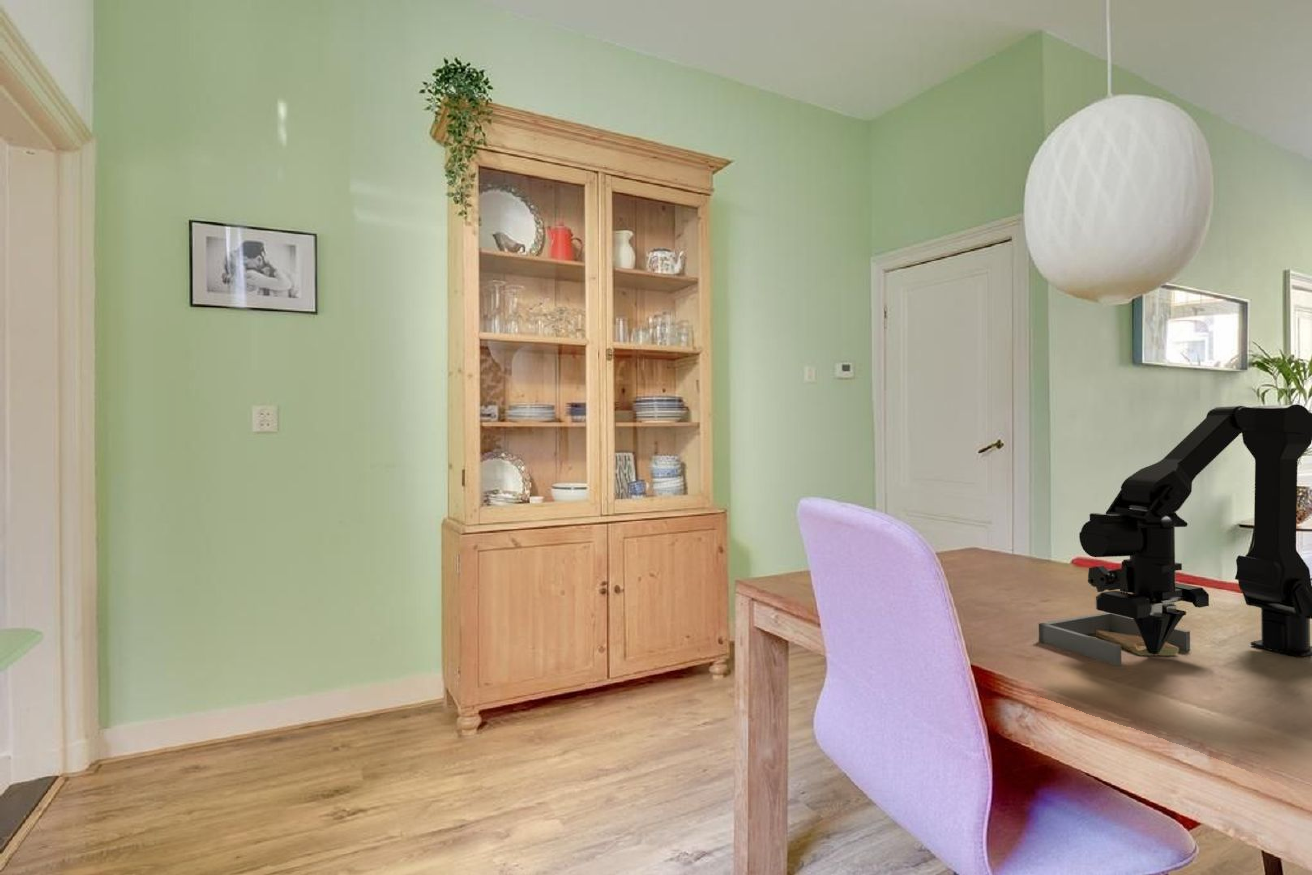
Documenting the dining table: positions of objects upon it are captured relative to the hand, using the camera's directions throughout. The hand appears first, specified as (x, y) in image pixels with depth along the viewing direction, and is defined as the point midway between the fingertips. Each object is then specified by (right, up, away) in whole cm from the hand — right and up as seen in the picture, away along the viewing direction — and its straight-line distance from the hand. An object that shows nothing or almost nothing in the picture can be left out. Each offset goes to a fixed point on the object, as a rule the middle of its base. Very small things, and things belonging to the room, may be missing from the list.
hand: (1153, 653), depth 102 cm
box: (-2, -1, +6) cm, 6 cm away
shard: (0, -1, +5) cm, 5 cm away
